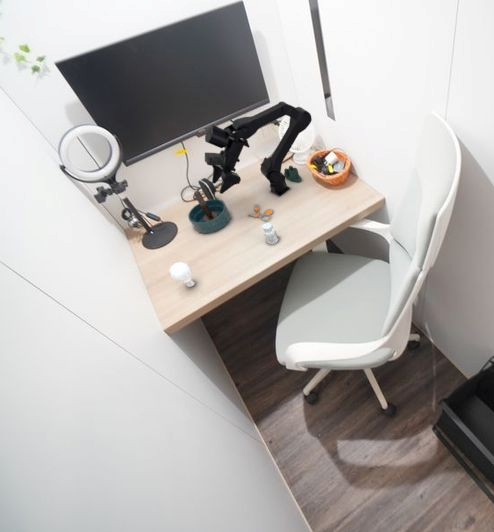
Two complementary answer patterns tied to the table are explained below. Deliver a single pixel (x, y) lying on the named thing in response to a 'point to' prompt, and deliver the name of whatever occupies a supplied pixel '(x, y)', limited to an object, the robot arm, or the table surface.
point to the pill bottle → (270, 233)
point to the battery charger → (208, 188)
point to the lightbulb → (182, 273)
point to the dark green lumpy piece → (292, 174)
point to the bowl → (214, 224)
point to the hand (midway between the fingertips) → (217, 188)
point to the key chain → (261, 213)
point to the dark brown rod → (205, 207)
